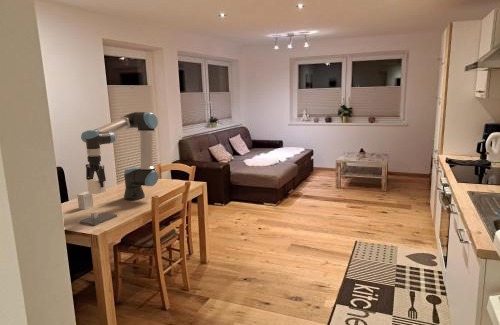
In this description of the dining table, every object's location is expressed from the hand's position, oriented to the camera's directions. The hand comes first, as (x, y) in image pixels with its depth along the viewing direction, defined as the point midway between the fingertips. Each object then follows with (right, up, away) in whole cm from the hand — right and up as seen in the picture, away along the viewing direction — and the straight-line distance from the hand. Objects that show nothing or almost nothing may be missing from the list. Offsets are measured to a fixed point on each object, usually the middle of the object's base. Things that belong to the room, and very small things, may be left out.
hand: (97, 191), depth 220 cm
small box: (-20, -14, +28) cm, 37 cm away
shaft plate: (0, -18, +3) cm, 18 cm away
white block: (0, 0, 0) cm, 0 cm away
